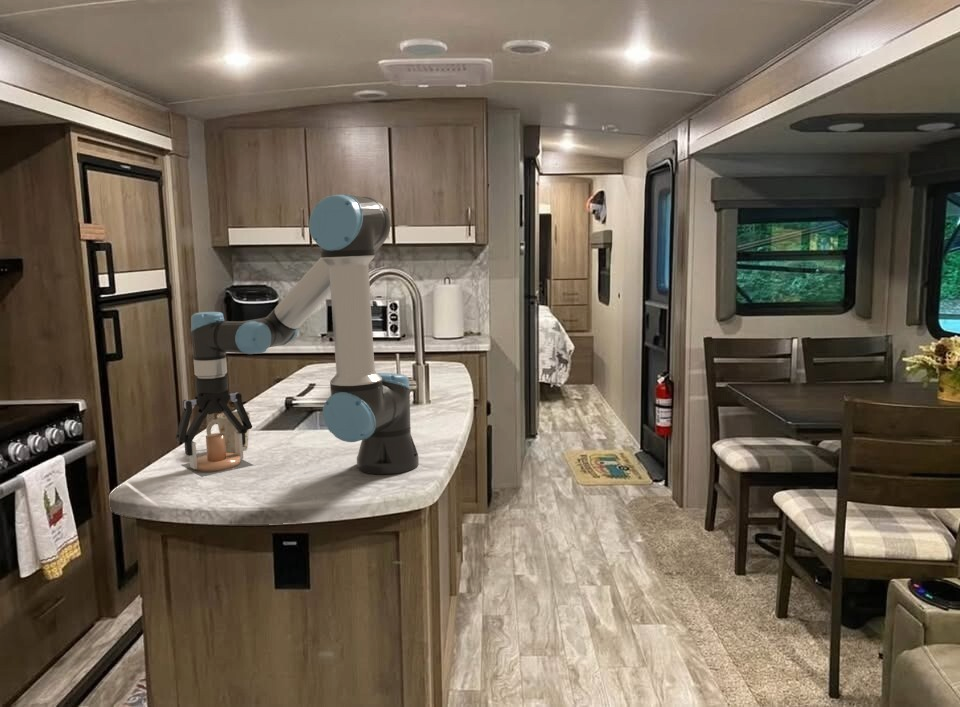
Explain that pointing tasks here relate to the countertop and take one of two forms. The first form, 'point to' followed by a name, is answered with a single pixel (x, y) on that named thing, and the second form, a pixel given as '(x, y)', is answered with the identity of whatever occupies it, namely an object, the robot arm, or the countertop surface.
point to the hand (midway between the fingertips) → (217, 462)
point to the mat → (202, 473)
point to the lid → (217, 455)
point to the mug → (228, 430)
